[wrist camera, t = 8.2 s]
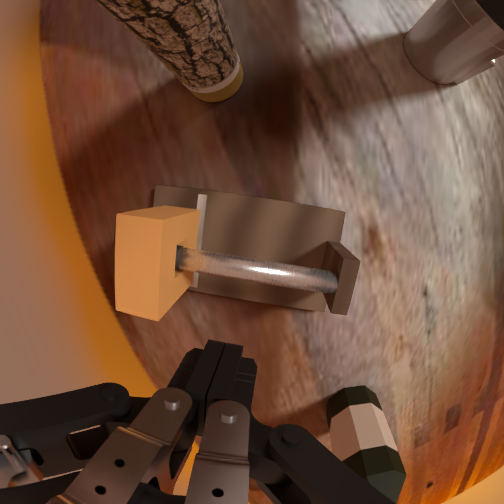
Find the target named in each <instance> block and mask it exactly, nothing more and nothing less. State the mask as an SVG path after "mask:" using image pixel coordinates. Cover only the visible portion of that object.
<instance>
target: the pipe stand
mask: <svg viewBox="0 0 504 504" xmlns="http://www.w3.org/2000/svg"><path fill="white" fill-rule="evenodd" d="M164 205H166V206H174V207H182V208H190V209H198V210H200V217H199V226H198V235H197V245H196V249H191V248H185V247H183V246H180V245H177V248H176V261H175V269H176V270H179V269H182V270H187V271H193V272H194V277H193V283H192V284H191V285H190V286H189V287H188V290H193V291H198V292H203V293H209V294H214V295H220V296H225V297H231V298H236V299H242V300H248V301H254V302H260V303H267V304H273V305H279V306H286V307H293V308H300V309H307V310H314V311H321V312H324V311H325V307H326V303H327V305H328V307H329V310H330V312H331V313H333V314H341V315H347V312H348V309H349V305H350V301H351V298H352V294H353V290H354V286H355V282H356V278H357V274H358V269H359V265H360V260H358V259H357V258H356V257H355V256H354V255H353V254H352V253H351V252H350V251H348V250H347V249H346V248H345V247H344V246H343V245H342V244H341V243H340V239H341V234H342V229H343V223H344V218H345V212H343V211H338V210H333V209H328V208H322V207H317V206H311V205H305V204H299V203H293V202H287V201H281V200H275V199H268V198H262V197H255V196H248V195H241V194H233V193H226V192H218V191H210V190H202V189H193V188H184V187H174V186H164V185H155V193H154V203H153V207H158V206H164ZM115 236H116V223H115ZM114 274H115V240H114Z"/></svg>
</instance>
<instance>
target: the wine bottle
mask: <svg viewBox="0 0 504 504" xmlns="http://www.w3.org/2000/svg"><path fill="white" fill-rule="evenodd" d="M326 414H327V420H328V426H329V432H330V439H331V445H332V452H333V454H334V455H335V456H336V457H337V458H338V459H340V460H341V461H342V462H343V463H344V464H346V465H347V466H348V467H349V468H350V469H352V470H353V471H354V472H355V473H357V474H358V475H359V476H360V477H362V478H363V479H364V480H365V481H367V482H368V483H369V484H370V485H372V486H373V487H374V488H376V489H377V490H378V491H380V492H381V493H382V494H384V495H385V496H386V497H388V498H389V499H390V500H392V501H393V502H395V503H396V502H397V499H398V497H399V494H400V492H401V489H402V486H403V483H404V481H405V478H406V472H405V470H404V467H403V464H402V461H401V458H400V455H399V453H398V450H397V447H396V445H395V442H394V439H393V437H392V434H391V431H390V429H389V426H388V423H387V421H386V418H385V416H384V413H383V411H382V408H381V406H380V403H379V401H378V398H377V396H376V394H375V393H374V392H372V391H371V390H370V389H368V388H367V387H366V386H356V387H348V388H343V389H342V390H341V391H340V392H338V393H337V394H336V395H334V396H333V397H332V398H330V399H329V400H328V405H327V413H326Z"/></svg>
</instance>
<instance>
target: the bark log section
mask: <svg viewBox="0 0 504 504" xmlns="http://www.w3.org/2000/svg"><path fill="white" fill-rule="evenodd" d="M94 1H95V2H97V3H98V4H99V5H100V6H101V7H103V8H104V9H105V10H106V11H107V12H108V13H109V14H111V15H112V16H113V17H114V18H115V19H116V20H117V21H118V22H120V23H121V24H122V25H123V26H124V27H125V28H126V29H127V30H128V31H129V32H130V33H132V34H133V35H134V36H135V37H136V38H137V39H138V40H139V41H140V42H141V43H142V44H143V45H144V46H145V47H146V48H147V49H148V50H149V51H151V52H152V53H153V54H154V55H155V56H156V57H157V58H158V59H159V60H160V61H161V62H162V63H163V64H164V65H165V66H166V67H167V68H168V69H169V70H170V71H171V72H172V73H173V74H174V75H175V76H176V77H177V78H178V79H179V80H180V81H181V82H182V84H183V85H184V86H185V87H187V88H188V89H189V90H190V92H191V93H192V94H193V95H194V96H196V97H197V98H198V99H200V100H203V101H206V102H218V101H222V100H225V99H227V98H229V97H231V96H232V95H233V94H235V93H236V92H237V91H238V89H239V88H240V86H241V84H242V81H243V69H242V66H241V63H240V60H239V56H238V53H237V50H236V47H235V44H234V41H233V38H232V35H231V32H230V29H229V26H228V23H227V20H226V18H225V15H224V12H223V9H222V6H221V3H220V1H219V0H94Z"/></svg>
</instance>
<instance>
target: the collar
mask: <svg viewBox="0 0 504 504" xmlns="http://www.w3.org/2000/svg"><path fill="white" fill-rule="evenodd" d="M199 217H200V210H198V209H190V208H182V207H174V206H166V205H164V206H158V207H152V208H146V209H140V210H134V211H129V212H123V213H118V214H117V217H116V236H115V302H116V310H117V311H121V312H125V313H128V314H132V315H136V316H139V317H143V318H147V319H151V320H155V321H159V320H160V319H161V318H162V317H163V315H164V314H165V313H166V312H167V311H168V310H169V309H170V308H171V306H172V305H173V304H174V303H175V302H176V301H177V300H178V299H179V297H180V296H181V295H182V294H183V293H184V292H185V291H186V290H187V289H188V287H189V286H190V285H191V284H192V283H193V277H194V272H193V271H187V270H182V269H179V270H176V269H175V261H176V248H177V245H180V246H183V247H185V248H191V249H196V245H197V235H198V226H199Z"/></svg>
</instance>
